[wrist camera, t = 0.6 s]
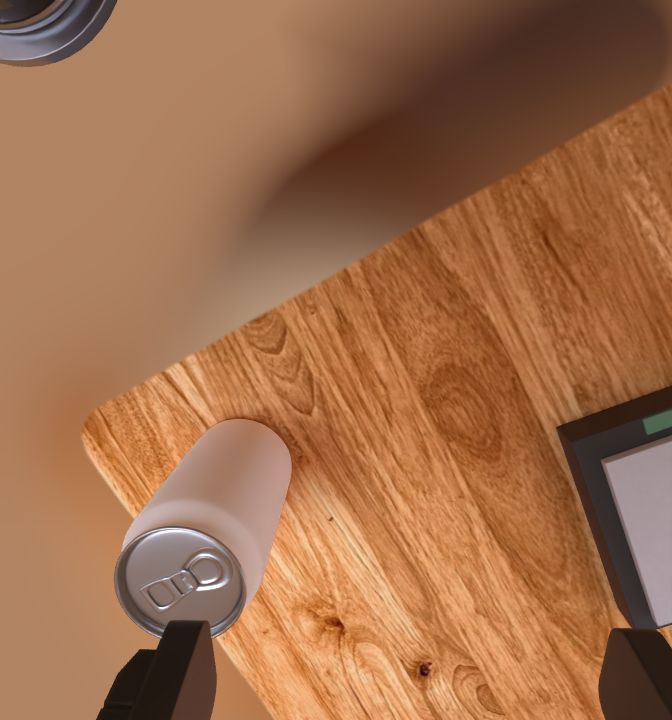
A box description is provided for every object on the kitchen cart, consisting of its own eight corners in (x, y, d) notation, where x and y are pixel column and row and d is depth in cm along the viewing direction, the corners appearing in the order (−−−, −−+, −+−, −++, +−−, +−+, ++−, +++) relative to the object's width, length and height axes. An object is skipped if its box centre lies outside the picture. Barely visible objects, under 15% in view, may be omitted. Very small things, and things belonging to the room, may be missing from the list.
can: (312, 479, 33) (286, 612, 21) (231, 524, 34) (163, 675, 22) (256, 397, 32) (197, 490, 20) (174, 447, 33) (72, 562, 21)
